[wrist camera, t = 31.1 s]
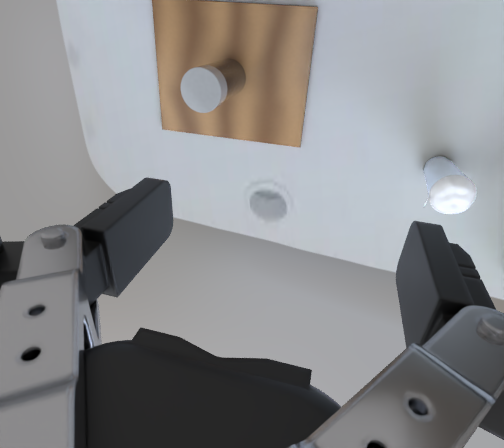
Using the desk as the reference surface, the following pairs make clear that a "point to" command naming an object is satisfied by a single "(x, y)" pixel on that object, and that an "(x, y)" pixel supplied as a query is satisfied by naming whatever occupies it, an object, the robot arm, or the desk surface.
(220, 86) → the pepper shaker
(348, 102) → the desk surface
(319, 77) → the desk surface
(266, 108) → the wooden board
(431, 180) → the milkshake
